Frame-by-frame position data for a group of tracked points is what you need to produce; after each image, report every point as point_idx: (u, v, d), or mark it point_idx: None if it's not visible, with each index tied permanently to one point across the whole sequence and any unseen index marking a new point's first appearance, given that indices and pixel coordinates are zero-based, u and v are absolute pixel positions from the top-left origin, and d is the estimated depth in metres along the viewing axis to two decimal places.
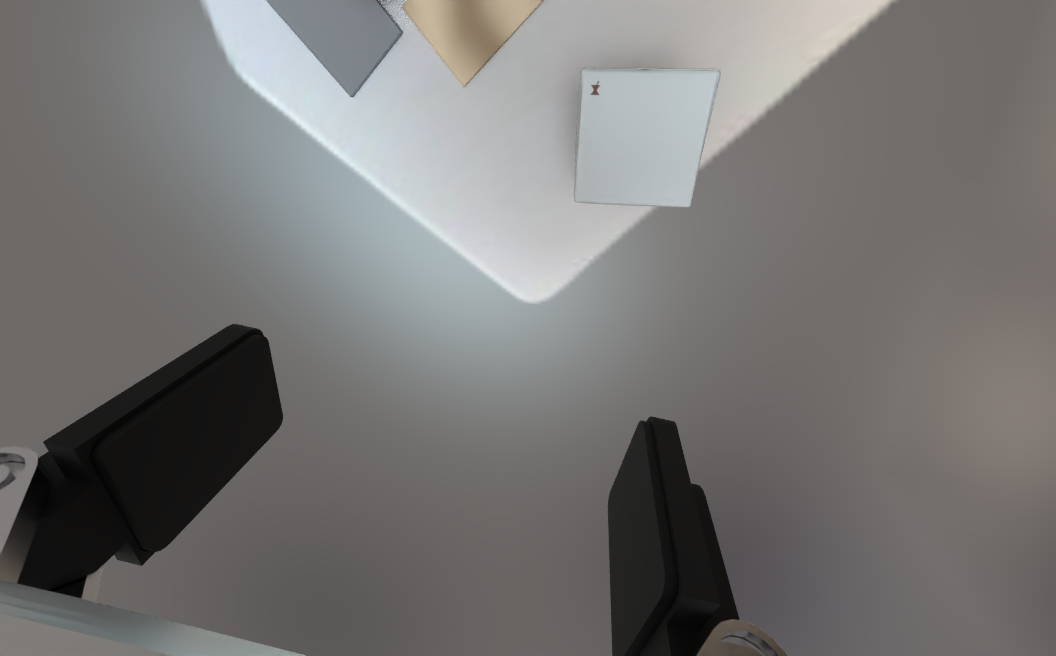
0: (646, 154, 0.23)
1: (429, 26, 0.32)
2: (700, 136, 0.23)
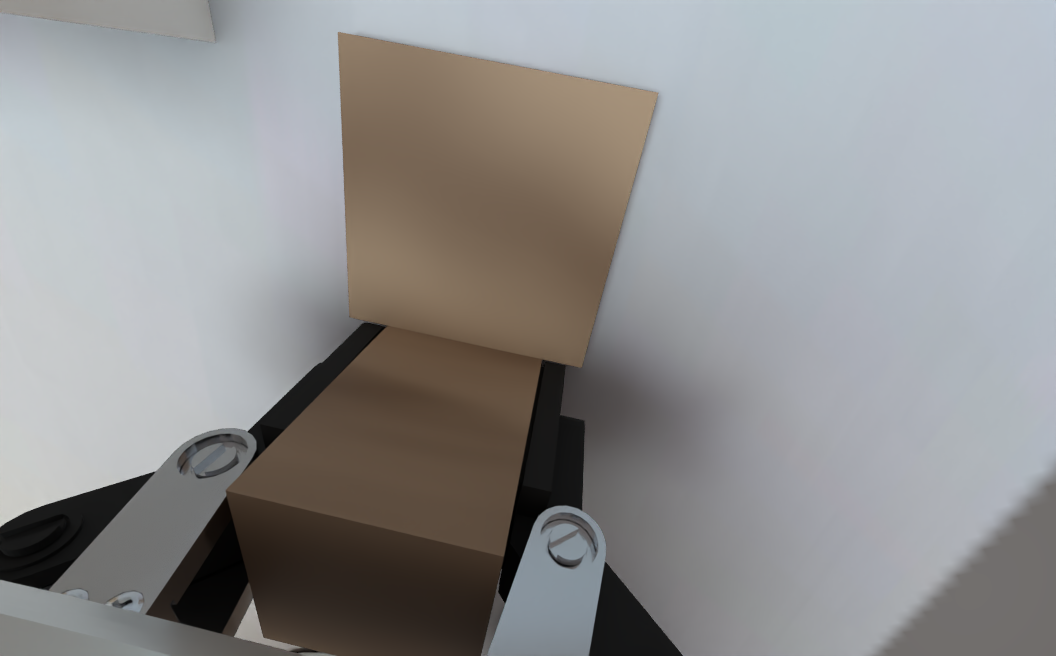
0: None
1: None
2: None
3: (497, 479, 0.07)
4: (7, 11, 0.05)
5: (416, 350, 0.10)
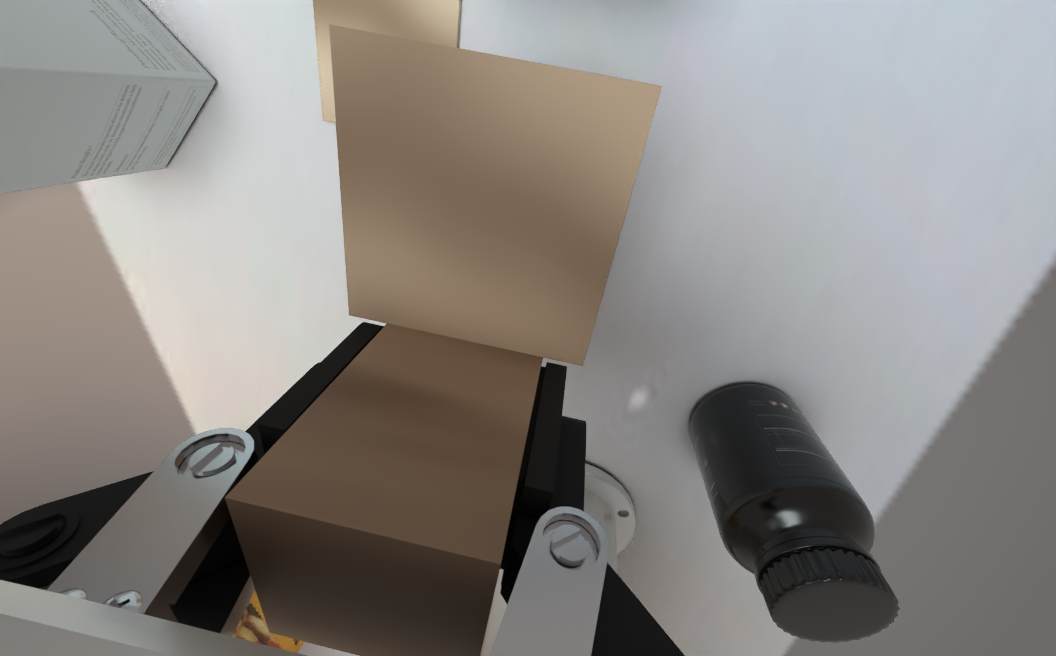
0: None
1: None
2: None
3: (495, 483, 0.07)
4: None
5: (416, 348, 0.10)
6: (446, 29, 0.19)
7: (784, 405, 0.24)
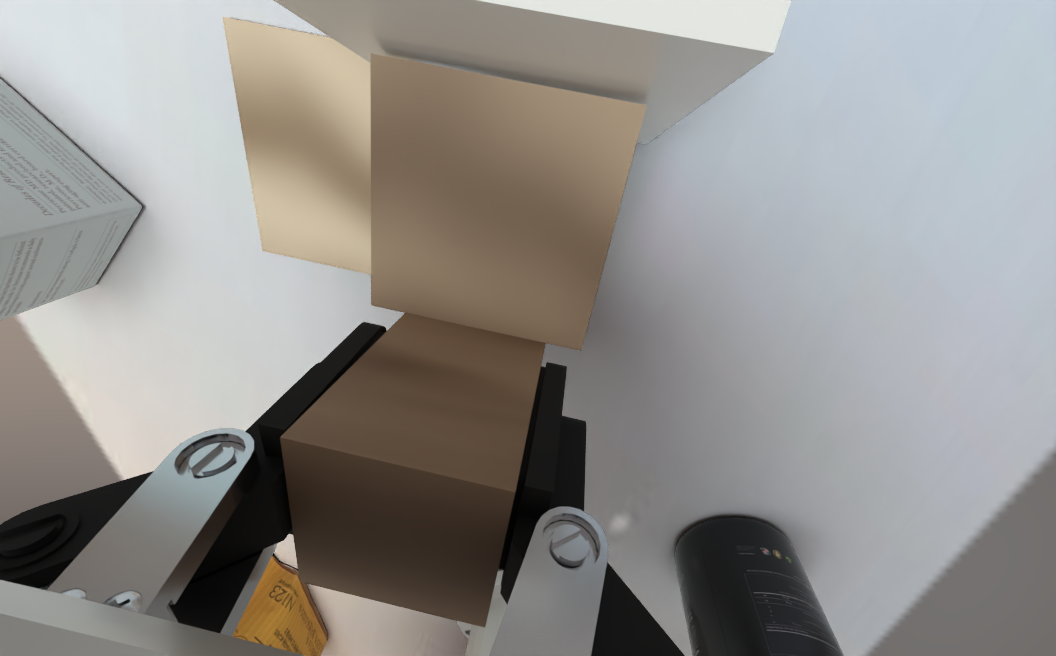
0: None
1: (348, 67, 0.15)
2: None
3: (508, 435, 0.08)
4: None
5: (432, 332, 0.11)
6: None
7: (776, 553, 0.22)
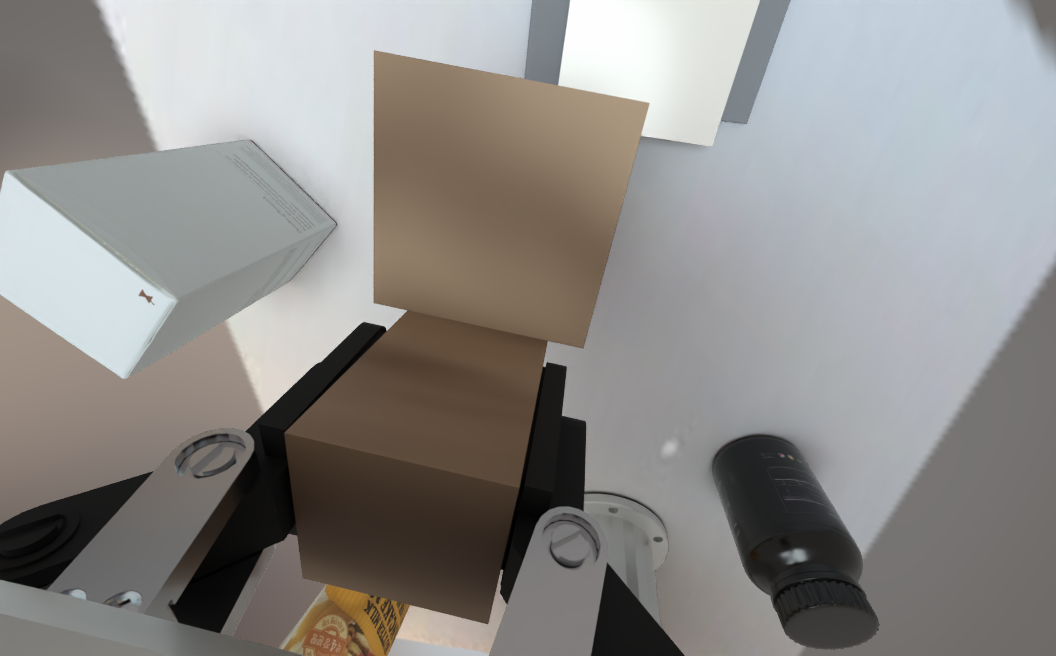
0: (52, 285, 0.18)
1: None
2: (61, 334, 0.19)
3: (511, 431, 0.08)
4: None
5: (435, 330, 0.11)
6: None
7: (790, 456, 0.30)
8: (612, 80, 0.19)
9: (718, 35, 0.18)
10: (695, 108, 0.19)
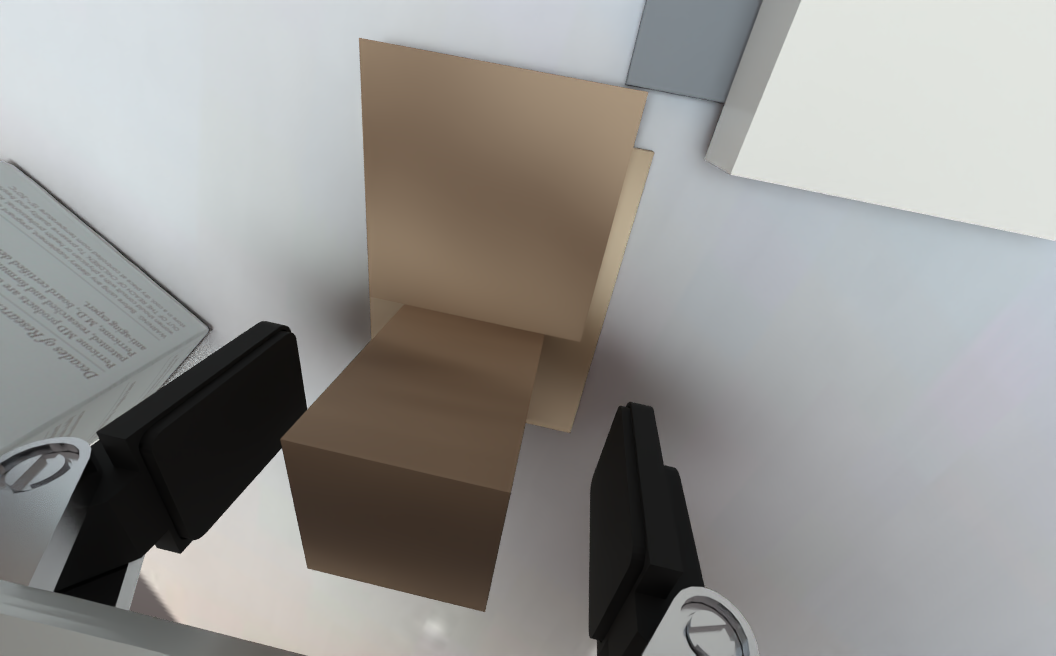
0: None
1: None
2: None
3: (505, 433, 0.08)
4: None
5: (431, 325, 0.11)
6: None
7: None
8: (963, 58, 0.06)
9: None
10: None
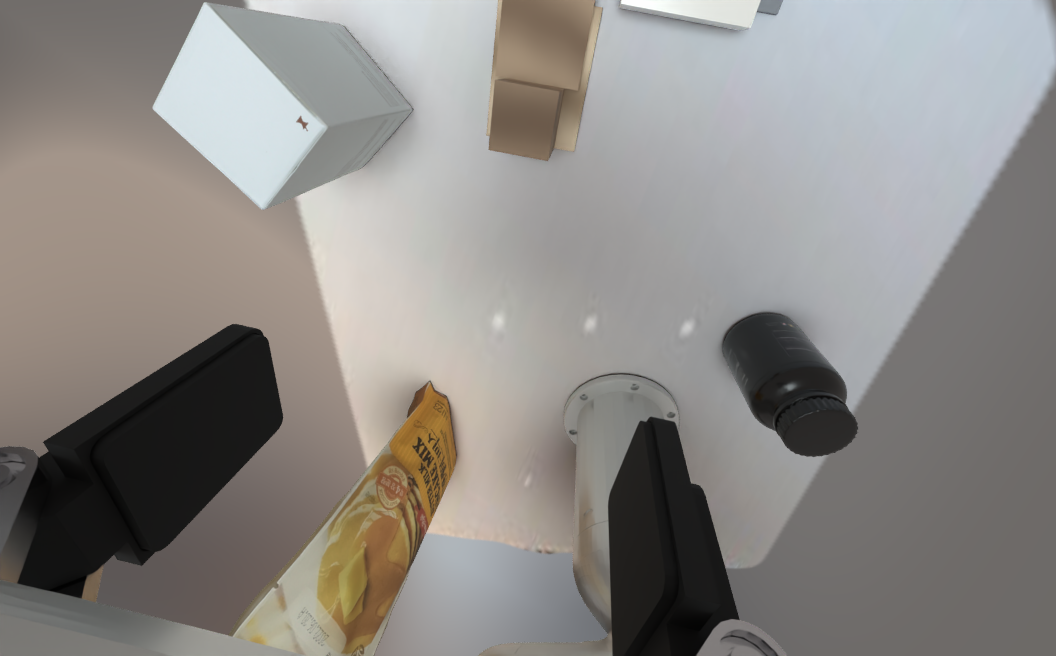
0: (221, 114, 0.22)
1: None
2: (217, 164, 0.23)
3: (555, 89, 0.26)
4: None
5: (522, 81, 0.28)
6: (581, 77, 0.29)
7: (790, 325, 0.35)
8: None
9: None
10: None
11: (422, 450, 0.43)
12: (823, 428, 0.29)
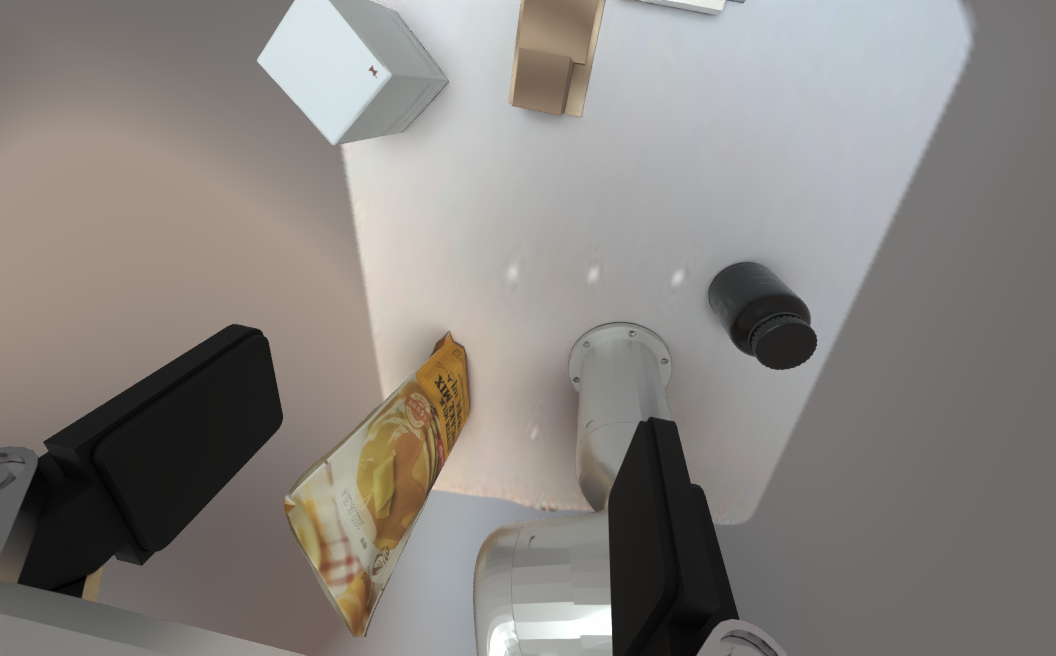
0: (310, 64, 0.28)
1: None
2: (301, 106, 0.30)
3: None
4: None
5: None
6: (587, 54, 0.36)
7: (766, 270, 0.41)
8: None
9: None
10: None
11: (442, 387, 0.48)
12: (788, 341, 0.34)
